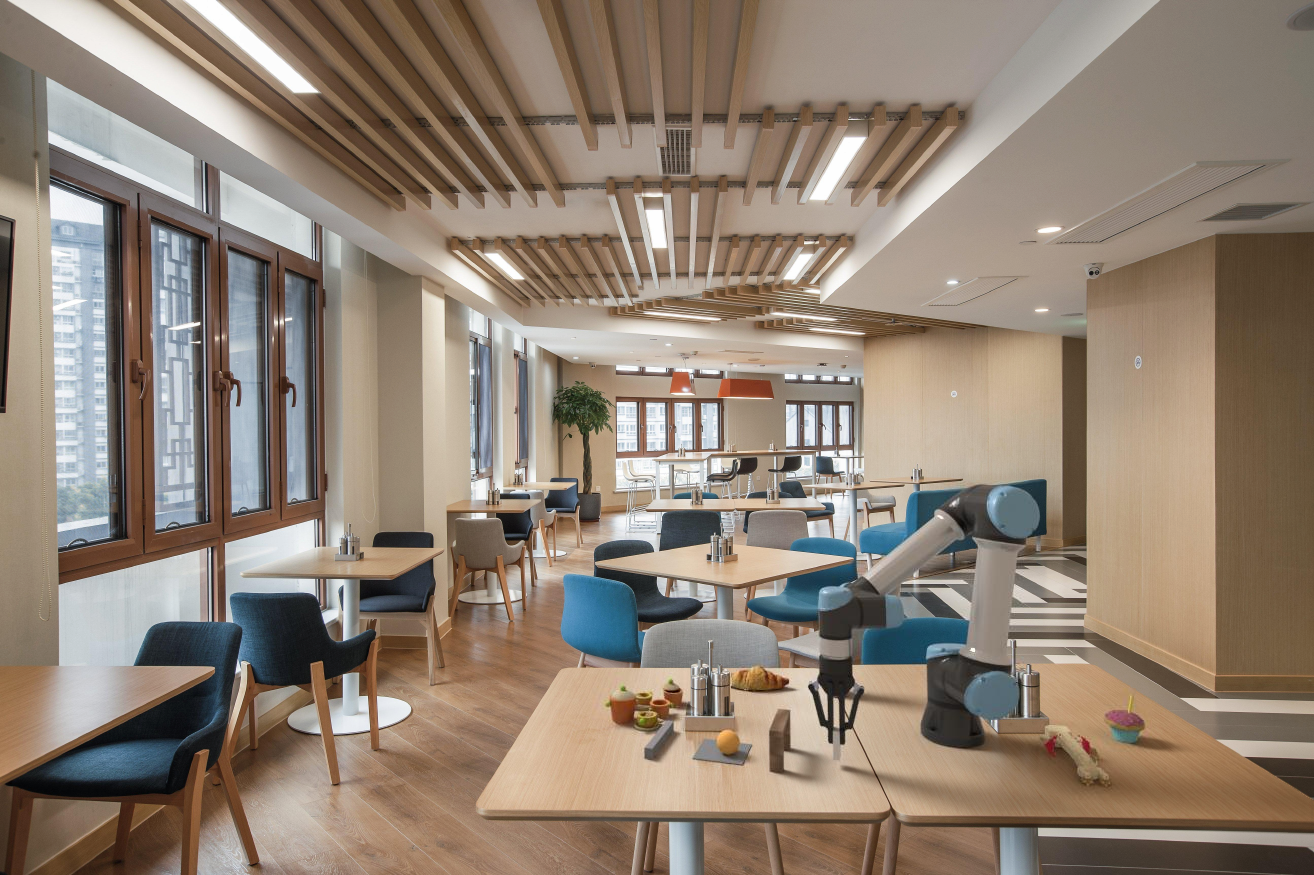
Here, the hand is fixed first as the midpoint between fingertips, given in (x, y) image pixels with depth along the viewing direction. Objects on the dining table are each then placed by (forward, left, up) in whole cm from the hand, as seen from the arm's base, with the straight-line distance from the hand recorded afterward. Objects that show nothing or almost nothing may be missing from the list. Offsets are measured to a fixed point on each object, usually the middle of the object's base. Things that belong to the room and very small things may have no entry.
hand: (836, 757), depth 163 cm
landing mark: (+27, 0, -2) cm, 27 cm away
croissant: (+28, -50, -2) cm, 58 cm away
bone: (-52, -19, -3) cm, 56 cm away
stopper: (+43, 0, -2) cm, 43 cm away
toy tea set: (+52, -19, -3) cm, 56 cm away
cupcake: (-68, -36, -2) cm, 77 cm away
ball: (+25, +1, +1) cm, 25 cm away
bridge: (+13, 0, -2) cm, 13 cm away
